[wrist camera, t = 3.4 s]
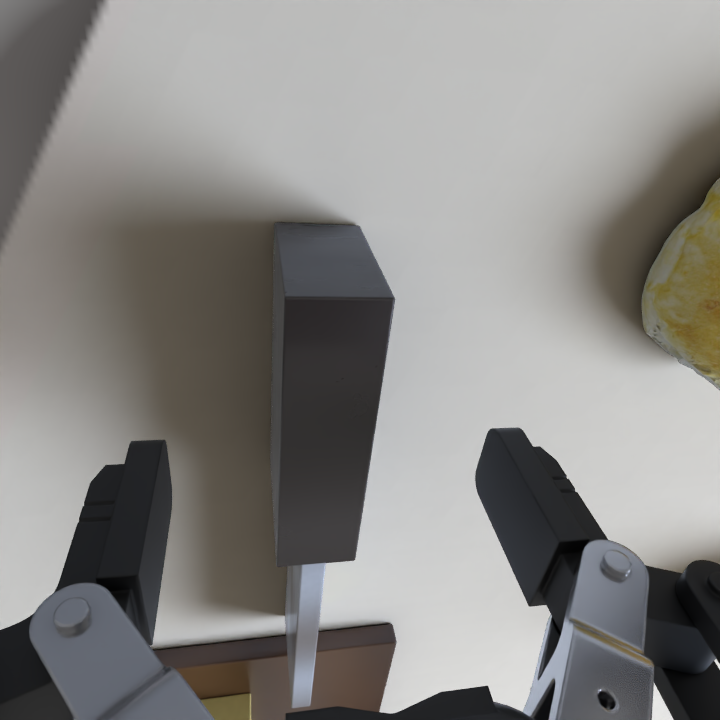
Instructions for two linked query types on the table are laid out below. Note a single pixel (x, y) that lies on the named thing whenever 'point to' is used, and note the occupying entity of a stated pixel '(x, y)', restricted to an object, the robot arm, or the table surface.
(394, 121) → the table surface
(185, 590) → the table surface
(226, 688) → the board
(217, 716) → the butter pat
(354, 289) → the knife
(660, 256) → the bread roll
